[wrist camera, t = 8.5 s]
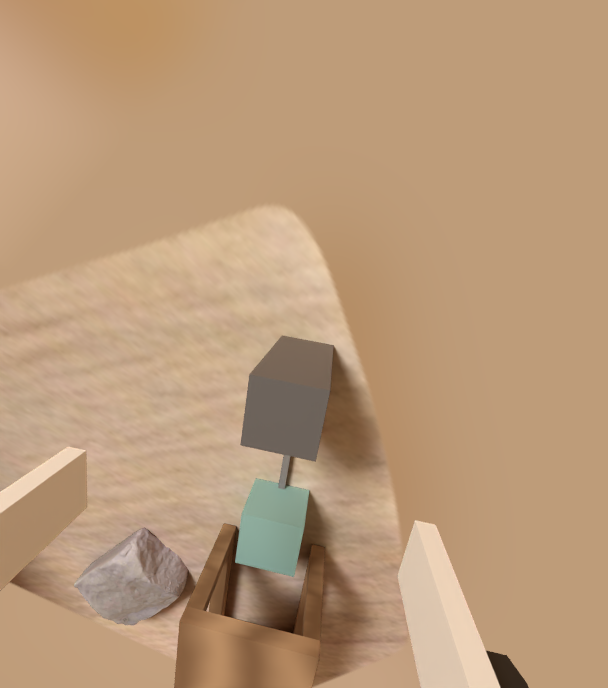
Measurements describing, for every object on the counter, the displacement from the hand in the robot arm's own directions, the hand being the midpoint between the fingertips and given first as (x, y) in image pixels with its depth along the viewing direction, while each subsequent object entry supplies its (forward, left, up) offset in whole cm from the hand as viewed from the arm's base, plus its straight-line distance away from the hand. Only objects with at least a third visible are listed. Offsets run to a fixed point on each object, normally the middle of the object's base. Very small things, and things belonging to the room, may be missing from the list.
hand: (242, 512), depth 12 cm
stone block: (-16, -31, -19) cm, 40 cm away
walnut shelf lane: (0, -29, -18) cm, 34 cm away
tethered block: (0, -9, -18) cm, 20 cm away
